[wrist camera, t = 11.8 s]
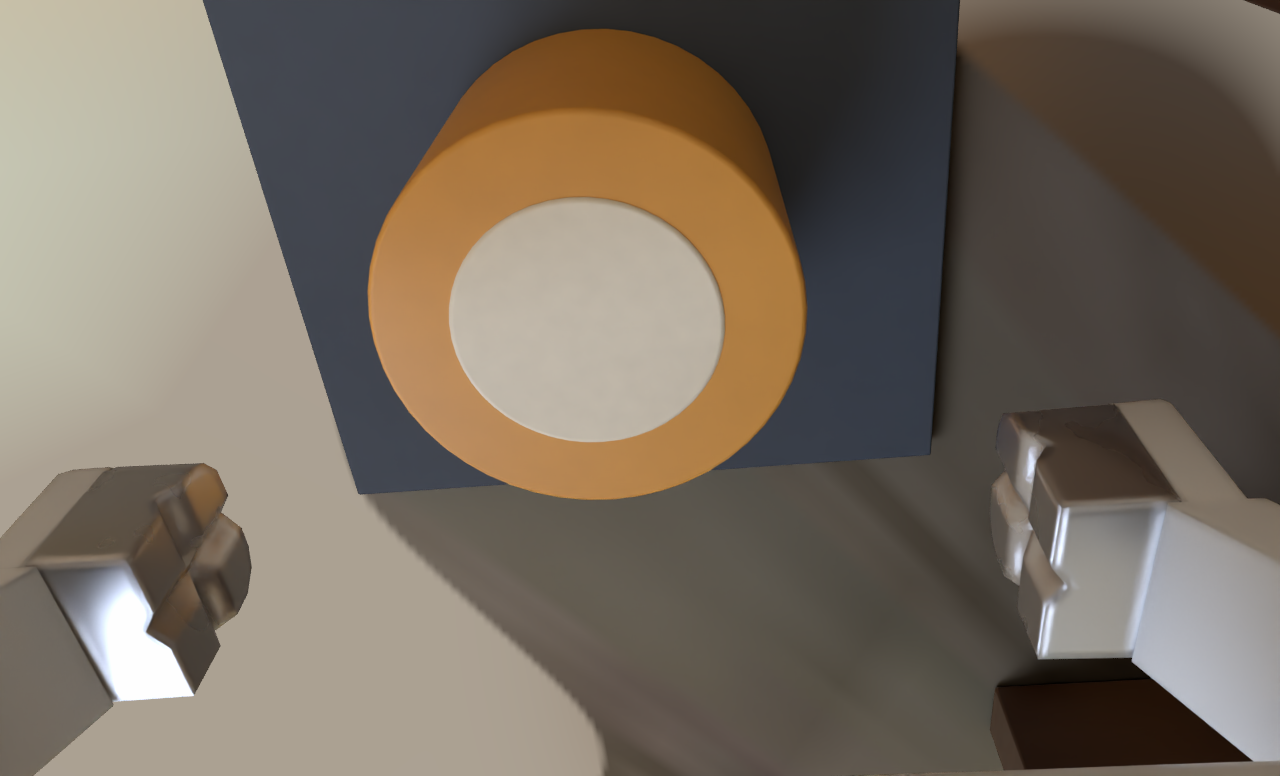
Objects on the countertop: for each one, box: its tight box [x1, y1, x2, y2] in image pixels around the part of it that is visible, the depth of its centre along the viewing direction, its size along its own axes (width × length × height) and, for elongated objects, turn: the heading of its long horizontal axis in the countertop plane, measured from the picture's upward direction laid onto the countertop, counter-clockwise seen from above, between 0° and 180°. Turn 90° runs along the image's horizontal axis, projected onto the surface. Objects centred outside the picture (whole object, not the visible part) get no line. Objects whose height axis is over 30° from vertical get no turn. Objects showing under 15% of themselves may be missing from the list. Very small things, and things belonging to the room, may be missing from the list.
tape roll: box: [367, 29, 807, 500], centre depth 15 cm, size 6×6×5 cm
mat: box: [203, 0, 960, 494], centre depth 18 cm, size 12×12×1 cm
